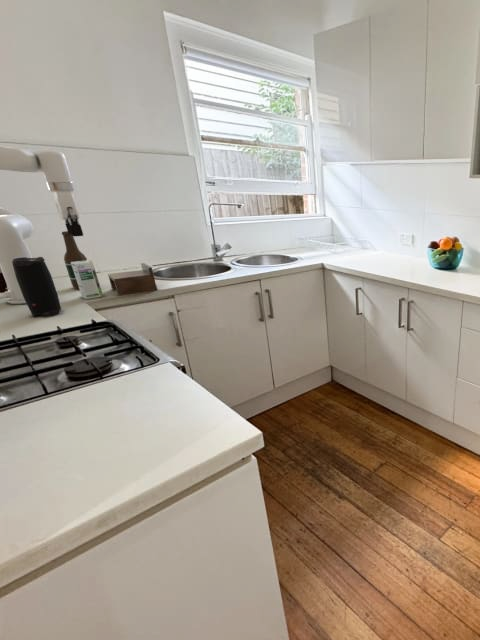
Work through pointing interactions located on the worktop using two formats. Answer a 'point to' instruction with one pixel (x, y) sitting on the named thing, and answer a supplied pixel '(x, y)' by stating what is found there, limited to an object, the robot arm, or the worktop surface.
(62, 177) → the robot arm
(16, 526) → the worktop surface
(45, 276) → the portable speaker
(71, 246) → the beer bottle
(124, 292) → the brown wooden box
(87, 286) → the syrup box
